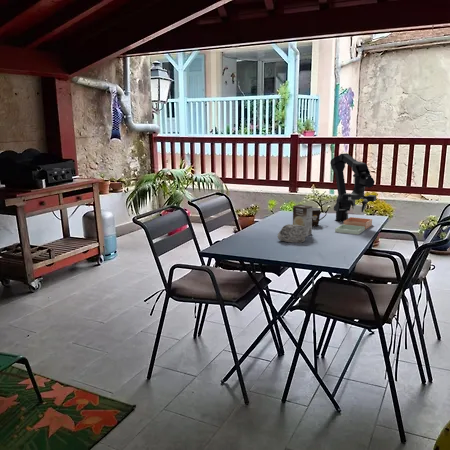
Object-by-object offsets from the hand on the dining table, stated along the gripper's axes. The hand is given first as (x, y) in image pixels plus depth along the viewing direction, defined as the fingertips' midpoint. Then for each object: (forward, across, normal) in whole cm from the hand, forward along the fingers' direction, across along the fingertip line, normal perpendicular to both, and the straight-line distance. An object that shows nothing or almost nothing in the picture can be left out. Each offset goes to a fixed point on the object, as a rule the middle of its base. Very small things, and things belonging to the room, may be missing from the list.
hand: (358, 211), depth 268 cm
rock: (+9, -20, -47) cm, 52 cm away
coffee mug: (+9, -23, -8) cm, 26 cm away
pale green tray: (+9, 0, -14) cm, 17 cm away
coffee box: (+9, -21, -32) cm, 39 cm away
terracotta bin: (+9, 0, 0) cm, 9 cm away
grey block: (+1, 0, 0) cm, 1 cm away
